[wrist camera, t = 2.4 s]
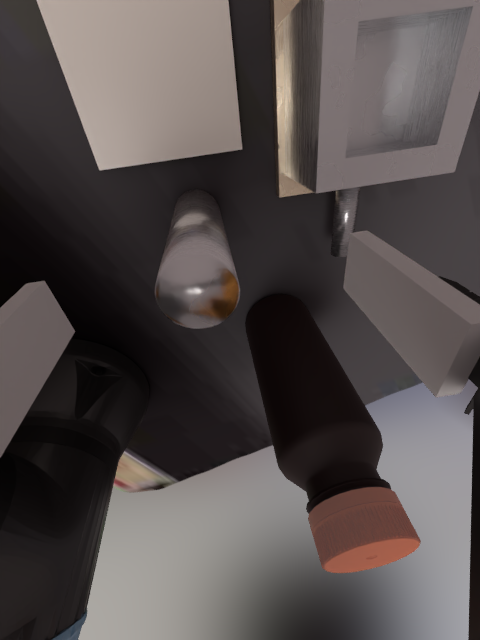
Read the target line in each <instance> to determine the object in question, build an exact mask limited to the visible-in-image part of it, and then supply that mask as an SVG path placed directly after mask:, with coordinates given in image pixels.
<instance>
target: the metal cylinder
mask: <svg viewBox="0 0 480 640" xmlns="http://www.w3.org/2000/svg"><path fill="white" fill-rule="evenodd" d="M155 299H156V302H157V304H158V307H159V308H160V310H161V311H162V313H163V314H164V315H165V316H166V317H167V318H168V319H170V320H171V321H173V322H174V323H176V324H178V325H181V326H184V327H188V328H195V329H201V328H208V327H212V326H215V325H217V324H220V323H221V322H223V321H225V320H226V319H227V318H228V317H229V316H230V315H231V314H232V313H233V312H234V311H235V309H236V307H237V305H238V302H239V299H240V286H239V282H238V278H237V274H236V270H235V266H234V263H233V259H232V255H231V251H230V247H229V244H228V240H227V236H226V232H225V228H224V224H223V221H222V217H221V213H220V209H219V206H218V203H217V201H216V200H215V198H214V197H213V196H212V195H211V194H209V193H208V192H206V191H203V190H199V189H193V190H189V191H187V192H185V193H183V194H182V195H181V196H180V197H179V199H178V200H177V202H176V205H175V209H174V213H173V217H172V221H171V225H170V229H169V233H168V237H167V240H166V244H165V248H164V252H163V256H162V260H161V264H160V268H159V272H158V276H157V280H156V284H155Z"/></svg>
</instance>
